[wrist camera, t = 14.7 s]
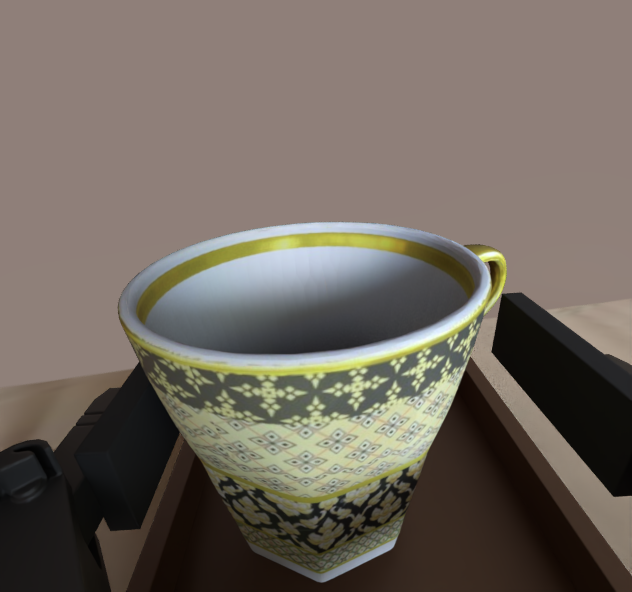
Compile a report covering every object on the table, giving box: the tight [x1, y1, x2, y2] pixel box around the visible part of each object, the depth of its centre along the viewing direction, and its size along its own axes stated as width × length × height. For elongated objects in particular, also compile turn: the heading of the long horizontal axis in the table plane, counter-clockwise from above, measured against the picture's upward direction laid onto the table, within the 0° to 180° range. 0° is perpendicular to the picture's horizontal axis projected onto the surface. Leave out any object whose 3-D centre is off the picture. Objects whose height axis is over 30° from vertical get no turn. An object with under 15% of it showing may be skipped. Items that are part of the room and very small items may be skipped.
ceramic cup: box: [118, 222, 507, 582], centre depth 13 cm, size 13×10×10 cm
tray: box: [126, 357, 632, 592], centre depth 14 cm, size 16×20×3 cm
